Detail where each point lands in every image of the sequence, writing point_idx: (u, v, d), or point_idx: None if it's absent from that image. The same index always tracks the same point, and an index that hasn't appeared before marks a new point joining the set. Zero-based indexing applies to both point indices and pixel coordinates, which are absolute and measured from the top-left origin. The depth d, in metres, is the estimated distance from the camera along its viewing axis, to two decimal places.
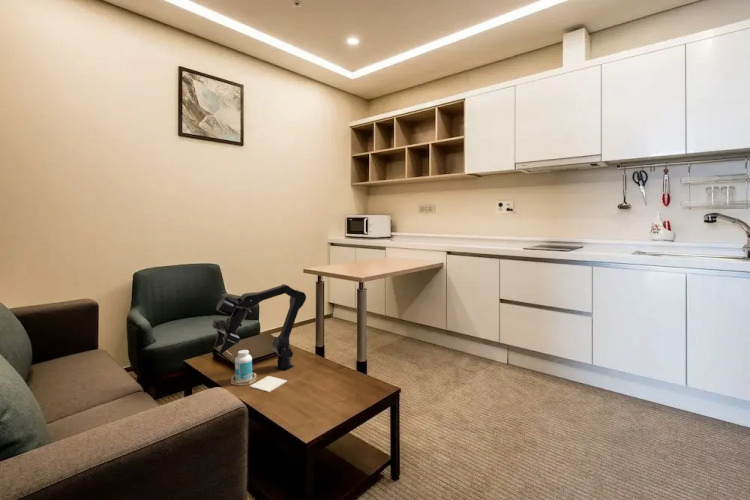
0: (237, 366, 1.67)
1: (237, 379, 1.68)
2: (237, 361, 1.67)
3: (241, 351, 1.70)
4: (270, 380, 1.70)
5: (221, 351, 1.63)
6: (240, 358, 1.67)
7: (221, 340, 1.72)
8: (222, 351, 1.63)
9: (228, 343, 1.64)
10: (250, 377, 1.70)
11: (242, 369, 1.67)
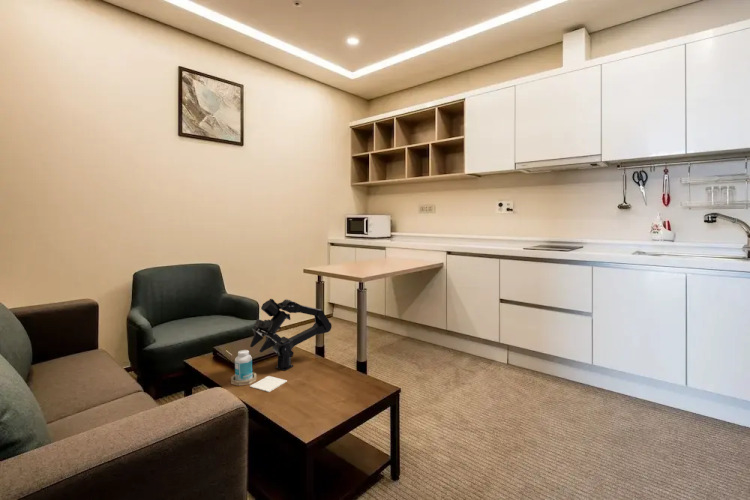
0: (237, 366, 1.67)
1: (237, 379, 1.68)
2: (237, 361, 1.67)
3: (241, 351, 1.70)
4: (270, 380, 1.70)
5: (261, 350, 1.71)
6: (240, 358, 1.67)
7: (257, 340, 1.80)
8: (262, 350, 1.71)
9: (269, 342, 1.73)
10: (250, 377, 1.70)
11: (242, 369, 1.67)
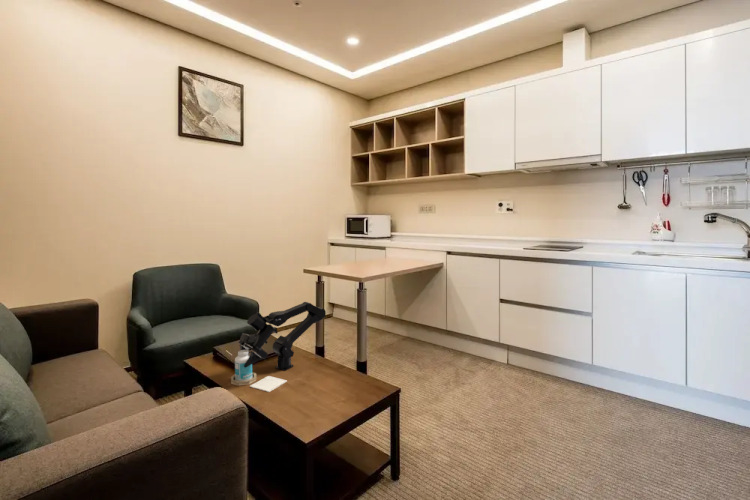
0: (237, 366, 1.67)
1: (237, 379, 1.68)
2: (237, 361, 1.67)
3: (241, 351, 1.70)
4: (270, 380, 1.70)
5: (246, 365, 1.67)
6: (240, 358, 1.67)
7: None
8: (247, 365, 1.67)
9: (254, 357, 1.69)
10: (250, 377, 1.70)
11: (242, 369, 1.67)
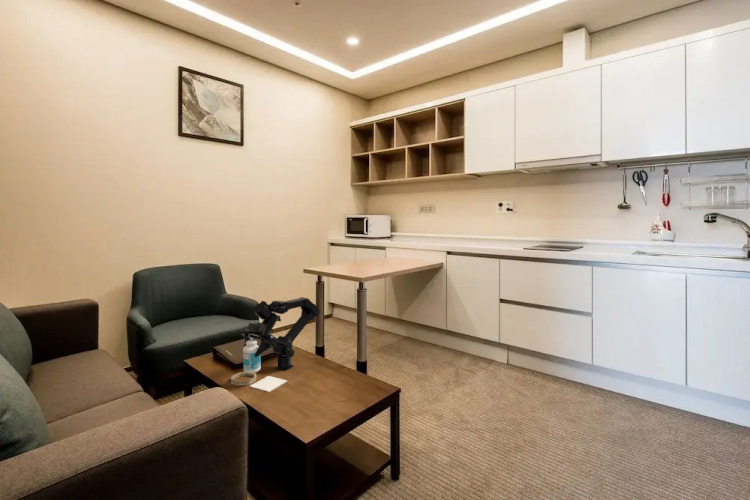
0: (247, 356, 1.64)
1: (247, 370, 1.65)
2: (247, 351, 1.64)
3: (249, 341, 1.67)
4: (270, 380, 1.70)
5: (257, 354, 1.64)
6: (250, 348, 1.64)
7: None
8: (258, 354, 1.65)
9: (264, 346, 1.67)
10: (259, 366, 1.68)
11: (253, 359, 1.64)
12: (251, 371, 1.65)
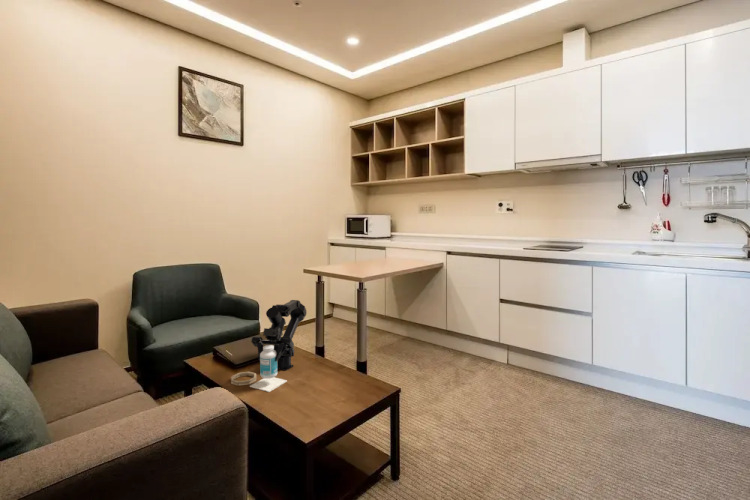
0: (267, 362, 1.63)
1: (267, 375, 1.63)
2: (267, 357, 1.63)
3: (266, 347, 1.65)
4: (270, 380, 1.70)
5: (277, 358, 1.65)
6: (269, 353, 1.64)
7: None
8: (277, 358, 1.65)
9: (281, 349, 1.68)
10: None
11: (273, 364, 1.64)
12: (271, 376, 1.64)
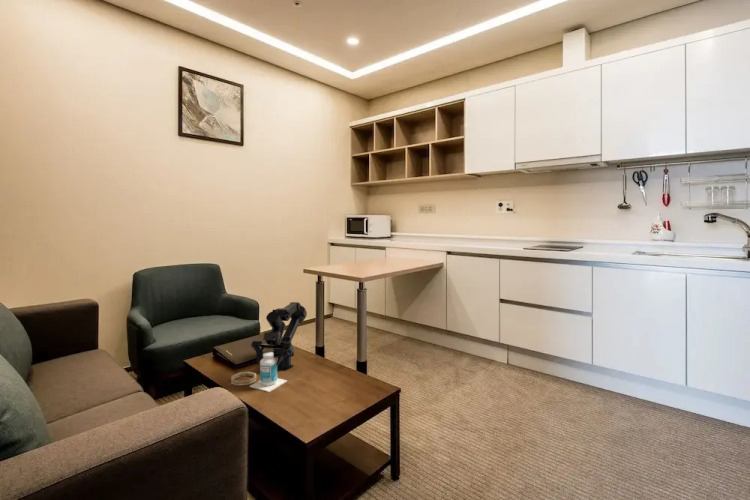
0: (267, 369, 1.63)
1: (267, 382, 1.64)
2: (267, 364, 1.63)
3: (266, 354, 1.66)
4: None
5: (278, 363, 1.65)
6: (269, 360, 1.64)
7: (260, 356, 1.69)
8: (279, 362, 1.65)
9: (283, 354, 1.68)
10: None
11: (273, 371, 1.64)
12: (272, 383, 1.64)
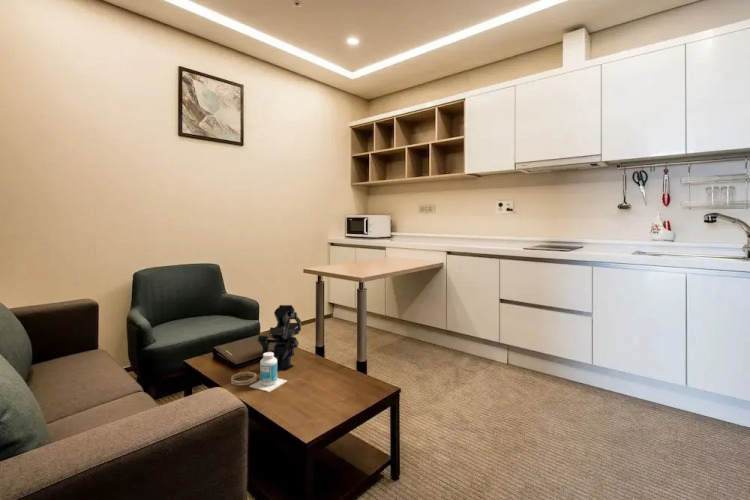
0: (268, 369, 1.63)
1: (267, 383, 1.64)
2: (268, 364, 1.63)
3: (266, 354, 1.66)
4: None
5: (283, 356, 1.71)
6: (270, 360, 1.64)
7: (266, 350, 1.75)
8: (284, 356, 1.72)
9: (288, 348, 1.74)
10: None
11: (273, 371, 1.64)
12: (272, 383, 1.64)
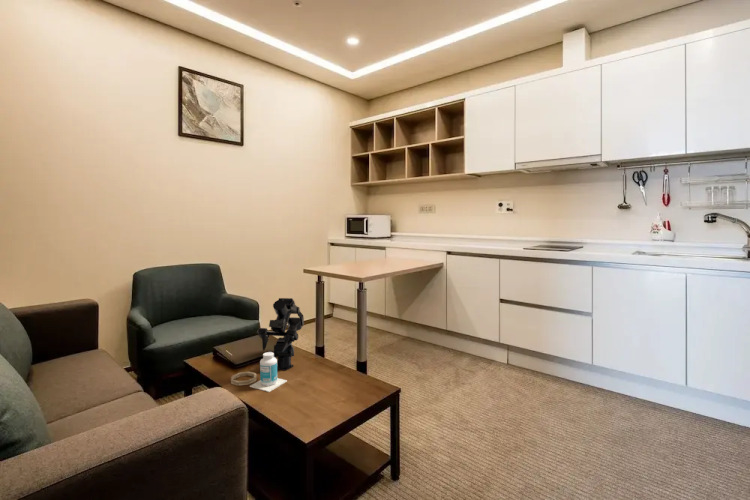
0: (267, 369, 1.63)
1: (267, 382, 1.64)
2: (267, 364, 1.63)
3: (266, 354, 1.66)
4: None
5: (283, 349, 1.71)
6: (269, 360, 1.64)
7: (266, 343, 1.75)
8: (284, 349, 1.71)
9: (288, 340, 1.74)
10: None
11: (273, 371, 1.64)
12: (272, 383, 1.64)
